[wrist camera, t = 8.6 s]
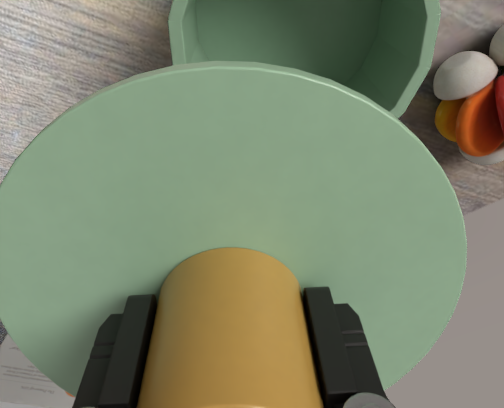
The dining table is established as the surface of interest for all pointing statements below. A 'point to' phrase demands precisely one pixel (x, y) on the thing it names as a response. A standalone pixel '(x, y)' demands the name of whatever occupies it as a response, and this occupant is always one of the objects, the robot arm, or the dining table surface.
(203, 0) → the tin
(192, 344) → the lid
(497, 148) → the rainbow disc rolling toy
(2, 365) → the small box
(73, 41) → the dining table surface
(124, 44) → the dining table surface
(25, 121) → the dining table surface
